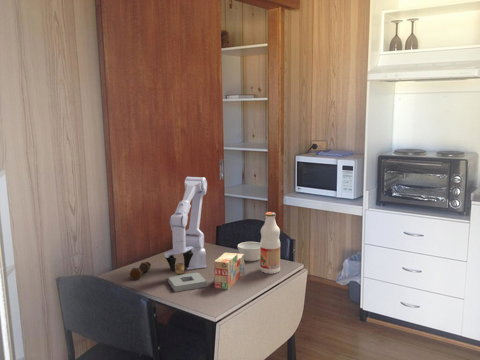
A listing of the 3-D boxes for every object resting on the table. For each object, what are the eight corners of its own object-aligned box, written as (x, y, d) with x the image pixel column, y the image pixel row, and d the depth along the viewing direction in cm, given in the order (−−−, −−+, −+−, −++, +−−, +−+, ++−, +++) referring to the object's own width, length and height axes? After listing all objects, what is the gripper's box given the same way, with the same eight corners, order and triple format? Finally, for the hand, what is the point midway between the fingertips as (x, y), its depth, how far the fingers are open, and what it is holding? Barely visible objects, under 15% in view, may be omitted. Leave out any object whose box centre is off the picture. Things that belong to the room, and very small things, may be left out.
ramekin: (232, 259, 224) (232, 246, 223) (246, 252, 234) (246, 240, 233) (254, 264, 216) (254, 250, 215) (267, 256, 227) (267, 244, 226)
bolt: (149, 272, 211) (137, 282, 196) (141, 266, 211) (127, 276, 196) (155, 262, 210) (142, 272, 195) (146, 256, 210) (133, 266, 195)
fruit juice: (277, 275, 200) (277, 215, 196) (257, 272, 203) (257, 214, 199) (282, 268, 209) (282, 211, 205) (263, 266, 212) (263, 210, 208)
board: (198, 277, 198) (198, 272, 198) (206, 286, 187) (206, 281, 187) (168, 281, 193) (168, 276, 192) (174, 291, 182) (174, 286, 181)
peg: (183, 276, 200) (182, 262, 199) (185, 278, 196) (185, 265, 195) (174, 277, 198) (174, 263, 197) (176, 280, 195) (176, 266, 194)
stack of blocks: (232, 271, 206) (231, 246, 204) (244, 273, 203) (244, 247, 202) (214, 288, 186) (214, 260, 184) (228, 290, 184) (227, 262, 182)
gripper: (186, 235, 203) (187, 263, 204) (160, 241, 193) (161, 271, 195) (196, 238, 198) (196, 267, 199) (169, 245, 188) (170, 275, 189)
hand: (179, 269), depth 197 cm, fingers open, 7 cm apart
